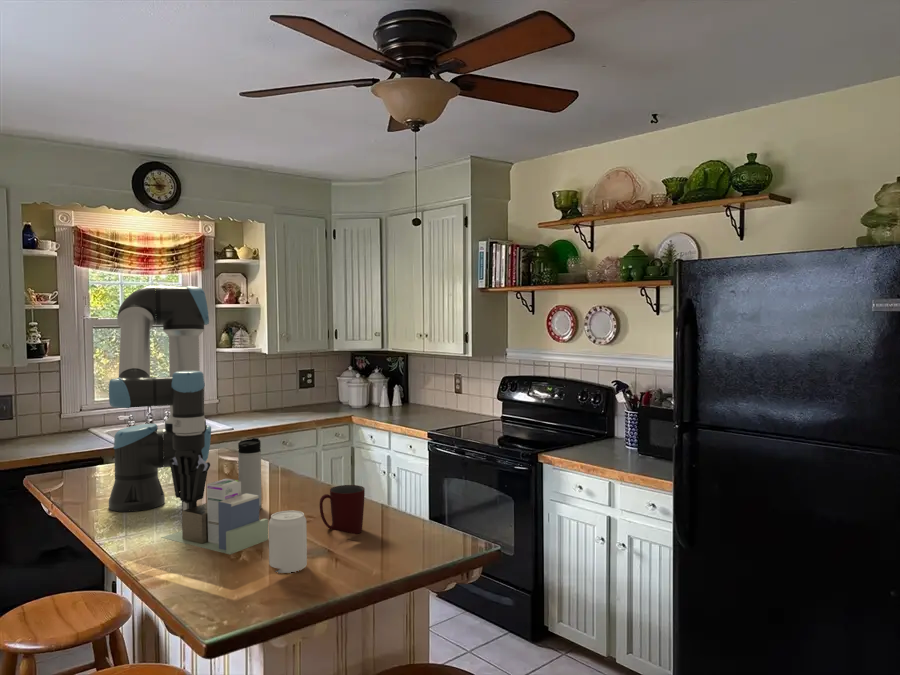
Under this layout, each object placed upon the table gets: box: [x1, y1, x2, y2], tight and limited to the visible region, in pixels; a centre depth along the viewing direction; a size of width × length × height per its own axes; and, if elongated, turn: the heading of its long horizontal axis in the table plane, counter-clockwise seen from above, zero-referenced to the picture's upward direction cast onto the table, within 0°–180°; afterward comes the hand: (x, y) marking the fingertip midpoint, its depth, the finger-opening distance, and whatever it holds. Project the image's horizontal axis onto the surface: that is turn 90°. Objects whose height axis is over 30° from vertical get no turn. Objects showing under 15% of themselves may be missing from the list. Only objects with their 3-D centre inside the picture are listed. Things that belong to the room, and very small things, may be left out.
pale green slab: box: [160, 518, 269, 555], centre depth 172 cm, size 24×12×6 cm, turn 59°
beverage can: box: [268, 510, 308, 574], centre depth 155 cm, size 8×8×12 cm
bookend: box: [181, 503, 208, 544], centre depth 173 cm, size 7×9×7 cm
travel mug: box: [237, 437, 263, 510], centre depth 203 cm, size 6×7×20 cm
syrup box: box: [206, 478, 241, 545], centre depth 170 cm, size 6×6×14 cm
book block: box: [218, 493, 260, 550], centre depth 167 cm, size 4×9×11 cm, turn 150°
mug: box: [319, 484, 366, 535], centre depth 181 cm, size 12×9×11 cm
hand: (189, 526), depth 176 cm, fingers closed
